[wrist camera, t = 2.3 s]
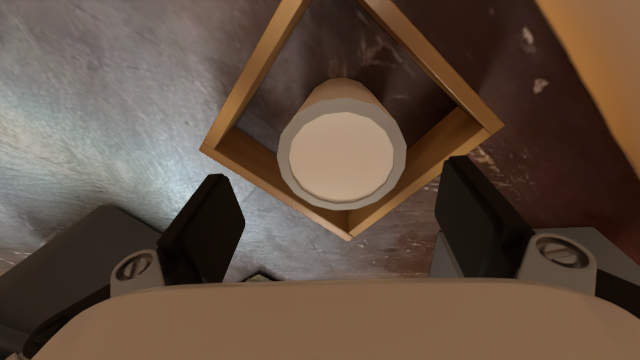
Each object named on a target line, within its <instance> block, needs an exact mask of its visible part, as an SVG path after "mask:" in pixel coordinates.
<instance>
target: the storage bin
mask: <svg viewBox="0 0 640 360" xmlns="http://www.w3.org/2000/svg"><path fill="white" fill-rule="evenodd" d="M161 236H162V234H161V233H159V232H157V231H155V230H154V229H152V228H150V227H149V226H147V225H145V224H143V223H142V222H140V221H138V220H136V219H135V218H133V217H131V216H129V215H127V214H126V213H124V212H122V211H120V210H119V209H117V208H115V207H112V206H108V205H102V206H99V207H98V208H96V209H95V210H93V211H92V212H91V213H89V214H88V215H87V216H85V217H84V218H82V219H81V220H79V221H78V222H77V223H75V224H74V225H72V226H71V227H69V228H68V229H67V230H65V231H64V232H62V233H61V234H60V235H58V236H57V237H55V238H54V239H52V240H51V241H50V242H48V243H47V244H45V245H44V246H43V247H41V248H40V249H38V250H37V251H35V252H34V253H33V254H31V255H30V256H28V257H27V258H26V259H24V260H23V261H21V262H20V263H19V264H17V265H16V266H14V267H13V268H12V269H10V270H9V271H7V272H6V273H4V274H3V275H2V276H0V360H5V359H6V358H8V357H9V356H10V355H11V354H13V353H14V352H15V353H17V354H20V353H22V349H23V346H24V343H25V342H26V340H27V339H28V337H29V336H30V335H31V334H32V333H33V332H34V330H35V329H36V328H37V327H38V326H39V325H40V324H42V323H43V322H44V321H46V320H47V319H49V318H50V317H52V316H53V315H55V314H57V313H58V312H60V311H62V310H64V309H65V308H67V307H69V306H71V305H73V304H74V303H76V302H78V301H80V300H81V299H83V298H85V297H87V296H88V295H90V294H92V293H94V292H95V291H97V290H99V289H101V288H102V287H104V286H106V285H108V284H110V277H111V273H112V272H113V270H114V268H115V267H116V266H117V265H118V264H119V263H120V262H121V261H122V260H124V259H125V258H126V257H128V256H129V255H131V254H133V253H135V252H138V251H140V250H145V249H152V250H154V251H156V249H157V248H158V245H157V244H156V242H157V241H158V240H159V238H160V237H161Z"/></svg>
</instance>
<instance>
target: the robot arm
mask: <svg viewBox="0 0 640 360" xmlns="http://www.w3.org/2000/svg"><path fill="white" fill-rule="evenodd" d="M435 217H436V219H437V221H438V223H439V225H440V227H441V230H442V232H443V234H444V236H445V238H446V240H447V242H448V244H449V246H450V248H451V250H452V252H453V254H454V257H455V259H456V261H457V263H458V265H459V267H460V269H461V271H462V273H463V275H464V277H465V278H396V279H348V280H307V281H270V282H236V283H222V281H223V279H224V276H225V274H226V271H227V269H228V266H229V264H230V262H231V259H232V257H233V254H234V252H235V250H236V247H237V245H238V242H239V240H240V238H241V235H242V233H243V230H244V228H245V219H244V216H243V214H242V211H241V209H240V206H239V203H238V201H237V198H236V196H235V193H234V191H233V188H232V186H231V183H230V181H229V179H228V177H227V176H224V175H223V174H209V175H208V176H207V177H206V178H205V180H204V181H203V182H202V183H201V185H200V186H199V187H198V189H197V190H196V191H195V193H194V194H193V195H192V197H191V198H190V199H189V200H188V202H187V203H186V204H185V206H184V207H183V208H182V210H181V211H180V212H179V213H178V215H177V216H176V217H175V219H174V220H173V221H172V223H171V224H170V225H169V227H168V228H167V229H166V230H165V232H164V233H163V234H162V236H161V237H160V238H159V240H158V241H157V242H156V244H157V245H158V248H157V249H156V251H154V250H152V249H145V250H140V251H138V252H135V253H133V254H131V255H129V256H128V257H126V258H125V259H124V260H122V261H121V262H120V263H119V264H118V265H117V266H116V267H115V268H114V270H113V272H112V273H111V277H110V284H108V285H106V286H104V287H102V288H101V289H99V290H97V291H95V292H94V293H92V294H90V295H88V296H87V297H85V298H83V299H81V300H80V301H78V302H76V303H74V304H73V305H71V306H69V307H67V308H65V309H64V310H62V311H60V312H58V313H57V314H55V315H53V316H52V317H50V318H49V319H47V320H46V321H44V322H43V323H42V324H40V325H39V326H38V327H37V328H36V329H35V330H34V332H33V333H32V334H31V335H30V336H29V337H28V339H27V340H26V342H25V343H24V346H23V349H22V353H20V354H17V353H15V352H14V353H13V354H11V355H10V356H9V357H8V358H6V359H5V360H640V286H639V285H636V284H634V283H632V282H629V281H627V280H625V279H622V278H620V277H617V276H615V275H613V274H610V273H608V272H605V271H603V270H601V269H598V268H597V262H596V258H595V257H594V255H593V254H592V253H591V252H590V251H589V250H588V249H587V248H586V247H585V246H583V245H582V244H580V243H578V242H577V241H575V240H573V239H570V238H568V237H566V236H562V235H559V234H555V233H538V234H536V233H535V231H534V230H533V229H532V228H531V227H530V226H529V224H528V223H527V222H526V221H525V220H524V219H523V218H522V217H521V215H520V214H519V213H518V212H517V211H516V210H515V209H514V208H513V207H512V205H511V204H510V203H509V202H508V201H507V200H506V199H505V198H504V197H503V195H502V194H501V193H500V192H499V191H498V190H497V189H496V188H495V187H494V185H493V184H492V183H491V182H490V181H489V180H488V179H487V178H486V176H485V175H484V174H483V173H482V172H481V171H480V170H479V169H478V168H477V166H476V165H475V164H474V163H473V162H472V161H471V160H470V159H469V158H468V156H466V155H459V156H450V157H449V158H448V160H445V161H444V163H443V168H442V173H441V178H440V184H439V189H438V194H437V199H436V205H435Z"/></svg>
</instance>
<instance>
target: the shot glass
mask: <svg viewBox="0 0 640 360" xmlns="http://www.w3.org/2000/svg"><path fill="white" fill-rule="evenodd" d="M406 146H407V145H406V143H405V140H404V138H403V136H402V133H401V131H400V129H399V126H398V124H397V122H396V121H395V120H394V119H393V118H392V116H391V115H390V114H389V113H388V112H387V110H386V109H385V108H384V107H383V106H382V104H381V103H380V102H379V101H378V100H377V99H376V97H375V96H374V95H373V94H372V93H371V91H369V90H368V89H367V88H366V87H365V86H364V85H362V84H361V83H360V82H358V81H355V80H352V79H348V78H345V77H344V78H336V79H329V80H327V81H325V82H324V83H322V84H320V85H318V86H317V87H315V89H314V90H313V91H312V93H311V94H310V95H309V97H308V98H307V99H306V101H305V102H304V104H303V105H302V106H301V108H300V109H299V110H298V112H297V113H296V115H295V116H294V117H293V119H292V120H291V121H290V123H289V124H288V126H287V127H286V128H285V130H284V131H283V132H282V134H281V136H280V142H279V147H278V152H277V160H278V164H279V168H280V171H281V175H282V178H283V179H284V181H285V182H286V183H287V184H288V186H289V187H290V188H291V189H292V191H293V192H294V193H295V194H296V195H297V196H299V197H301V198H302V199H304V200H306V201H307V202H309V203H310V204H312V205H314V206H318V207H322V208H327V209H331V210H350V209H358V208H361V207H363V206H366V205H369V204H371V203H374V202H377V201H378V200H379V199H381V198H382V197H383V196H384V195H385V194H387V193H388V192H389V191H390V190H392V189H393V188H394V187H395V185H396V183H397V181H398V180H399V178H400V176H401V174H402V172H403V171H404V169H405V160H406Z"/></svg>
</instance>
